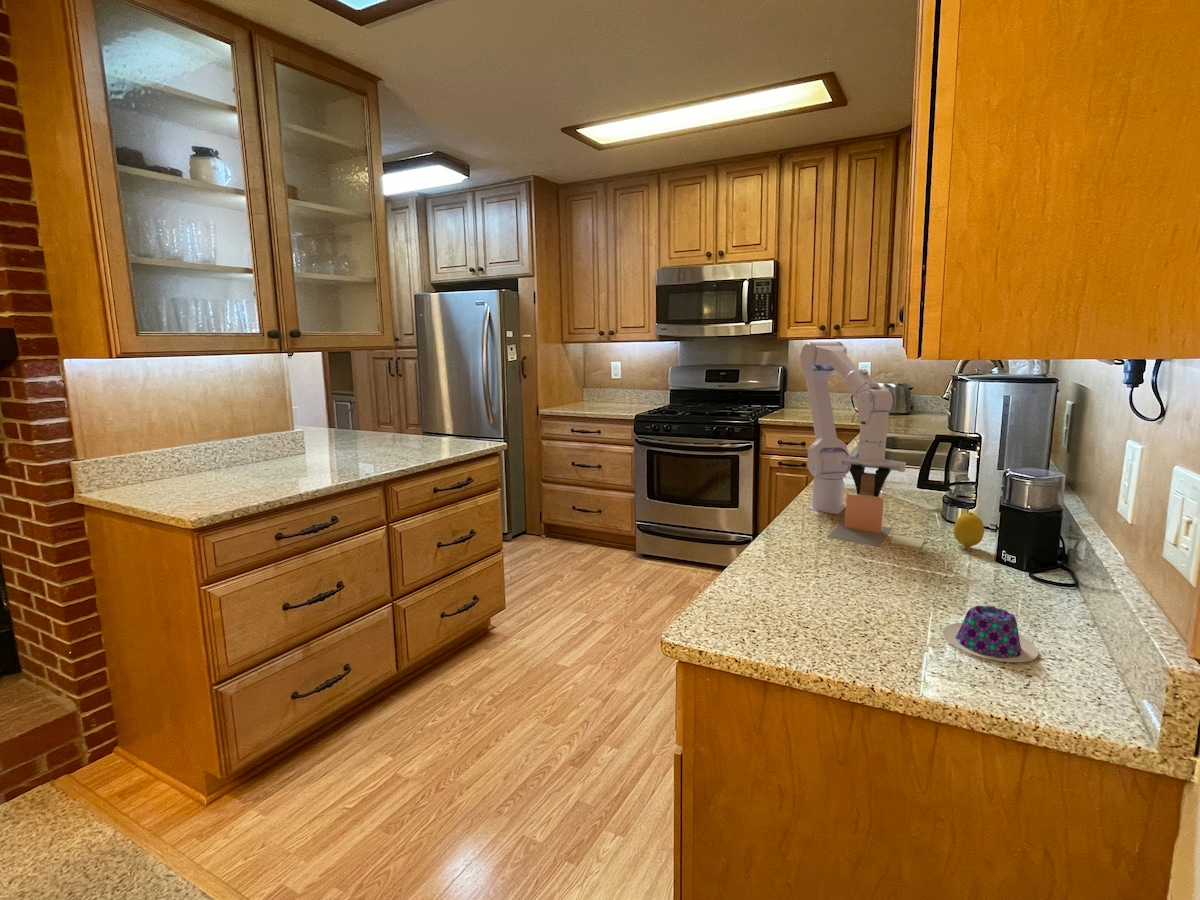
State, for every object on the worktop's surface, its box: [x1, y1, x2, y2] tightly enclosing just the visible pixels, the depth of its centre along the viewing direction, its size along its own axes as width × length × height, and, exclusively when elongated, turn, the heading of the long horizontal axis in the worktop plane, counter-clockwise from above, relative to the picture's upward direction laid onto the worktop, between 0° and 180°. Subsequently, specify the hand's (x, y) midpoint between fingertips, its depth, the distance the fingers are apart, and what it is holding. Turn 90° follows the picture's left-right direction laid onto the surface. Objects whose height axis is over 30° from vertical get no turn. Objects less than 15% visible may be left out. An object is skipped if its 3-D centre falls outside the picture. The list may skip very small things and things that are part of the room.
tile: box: [844, 492, 886, 533], centre depth 143 cm, size 2×8×8 cm, turn 56°
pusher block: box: [860, 471, 876, 496], centre depth 144 cm, size 3×3×8 cm
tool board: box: [890, 534, 926, 549], centre depth 135 cm, size 6×6×1 cm
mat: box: [826, 519, 893, 547], centre depth 142 cm, size 16×11×1 cm
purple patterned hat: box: [942, 604, 1039, 663], centre depth 90 cm, size 12×12×5 cm
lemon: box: [953, 511, 985, 549], centre depth 132 cm, size 6×6×8 cm
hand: (867, 497), depth 145 cm, fingers closed on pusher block, 3 cm apart
